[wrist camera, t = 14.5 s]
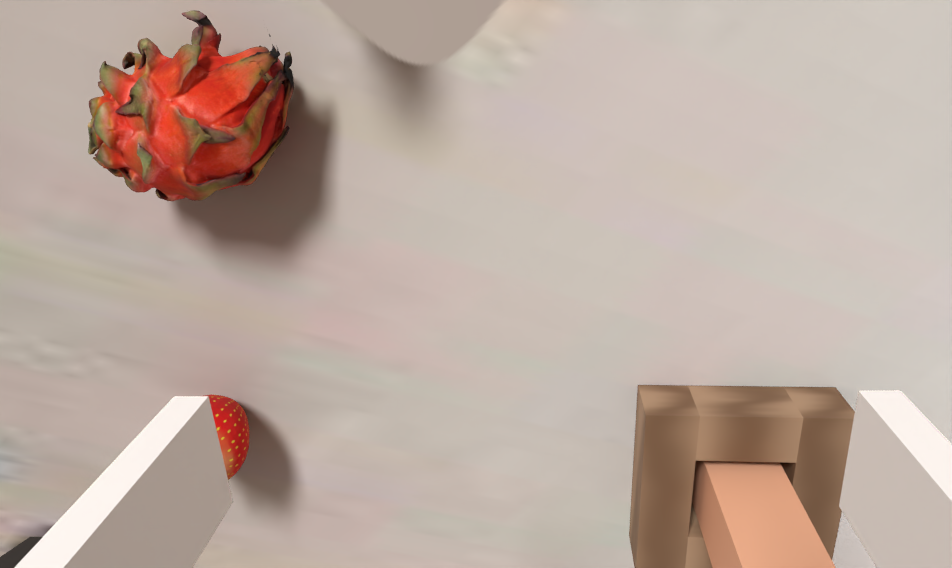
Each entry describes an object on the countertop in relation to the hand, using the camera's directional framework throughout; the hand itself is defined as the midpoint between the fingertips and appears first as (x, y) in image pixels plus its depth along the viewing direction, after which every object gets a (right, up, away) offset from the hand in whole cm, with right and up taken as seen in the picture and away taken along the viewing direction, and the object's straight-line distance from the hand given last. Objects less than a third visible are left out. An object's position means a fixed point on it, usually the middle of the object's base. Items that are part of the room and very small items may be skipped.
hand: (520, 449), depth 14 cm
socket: (+16, -9, +31) cm, 36 cm away
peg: (+16, -9, +31) cm, 36 cm away
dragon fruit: (-15, +14, +25) cm, 32 cm away
